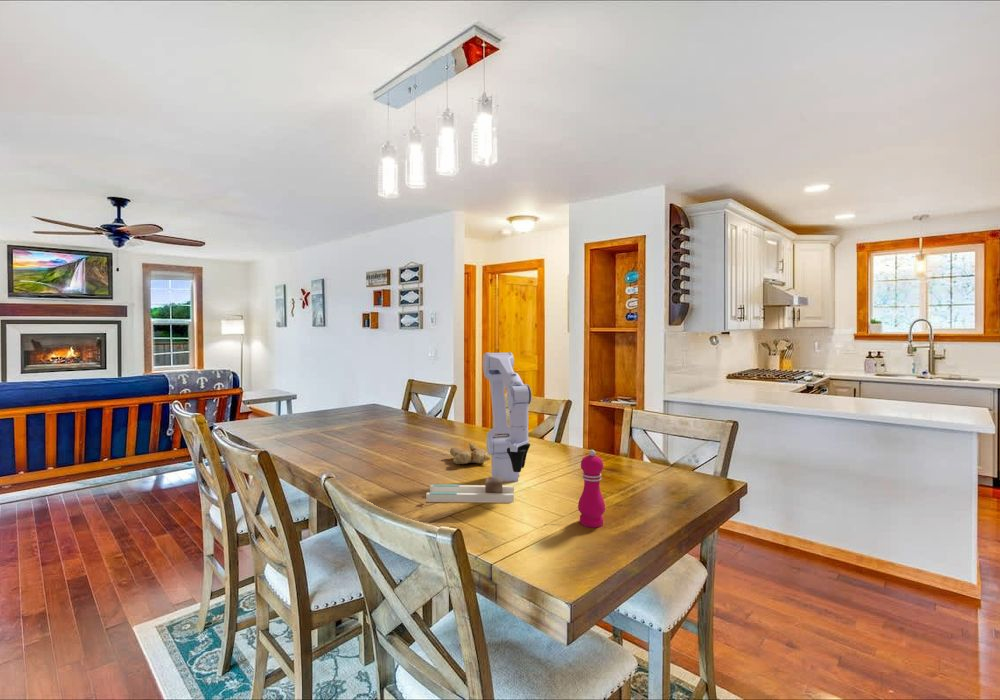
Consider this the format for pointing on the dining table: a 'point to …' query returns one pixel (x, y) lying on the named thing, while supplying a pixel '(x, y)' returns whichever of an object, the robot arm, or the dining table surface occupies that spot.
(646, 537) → the dining table surface
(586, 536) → the dining table surface
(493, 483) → the walnut block
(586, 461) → the pepper mill
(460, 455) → the ginger root
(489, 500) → the chute
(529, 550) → the dining table surface
